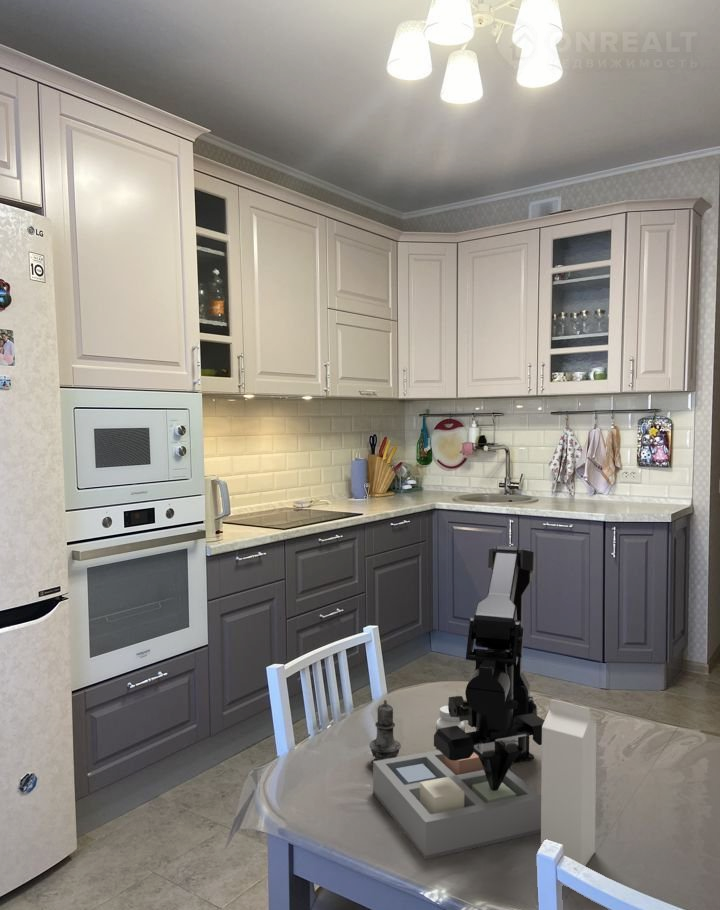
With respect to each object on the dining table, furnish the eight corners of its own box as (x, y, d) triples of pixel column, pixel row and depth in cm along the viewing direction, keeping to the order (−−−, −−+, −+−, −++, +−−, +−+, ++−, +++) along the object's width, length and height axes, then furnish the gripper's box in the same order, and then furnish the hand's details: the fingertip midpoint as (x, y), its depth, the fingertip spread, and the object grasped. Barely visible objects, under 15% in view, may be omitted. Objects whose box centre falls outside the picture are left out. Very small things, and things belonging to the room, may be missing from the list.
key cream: (448, 803, 108) (448, 776, 108) (464, 819, 103) (464, 791, 103) (419, 808, 106) (419, 782, 106) (434, 825, 101) (434, 797, 101)
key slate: (422, 788, 117) (422, 763, 116) (436, 802, 112) (436, 777, 112) (395, 793, 115) (395, 768, 115) (408, 808, 110) (408, 782, 110)
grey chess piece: (398, 773, 124) (398, 707, 123) (366, 769, 125) (366, 704, 125) (402, 758, 129) (403, 695, 129) (372, 755, 130) (372, 692, 130)
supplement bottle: (466, 756, 130) (467, 705, 130) (461, 769, 125) (462, 716, 125) (439, 752, 132) (439, 702, 132) (432, 764, 127) (433, 712, 127)
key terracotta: (470, 767, 120) (470, 743, 120) (485, 780, 115) (485, 756, 115) (444, 772, 118) (444, 748, 118) (458, 785, 113) (459, 760, 113)
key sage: (498, 804, 111) (498, 779, 111) (516, 820, 107) (516, 794, 106) (471, 810, 109) (471, 784, 109) (488, 827, 105) (488, 799, 105)
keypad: (475, 773, 124) (476, 743, 123) (542, 832, 105) (543, 797, 105) (373, 792, 116) (373, 761, 116) (425, 859, 98) (425, 822, 98)
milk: (555, 838, 103) (556, 692, 103) (595, 852, 100) (597, 701, 100) (539, 857, 99) (541, 704, 98) (581, 873, 95) (583, 714, 95)
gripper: (516, 668, 119) (515, 757, 119) (418, 681, 112) (418, 776, 112) (556, 690, 108) (555, 788, 108) (451, 706, 102) (450, 810, 102)
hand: (493, 789), depth 108 cm, fingers closed, pressing on key sage
